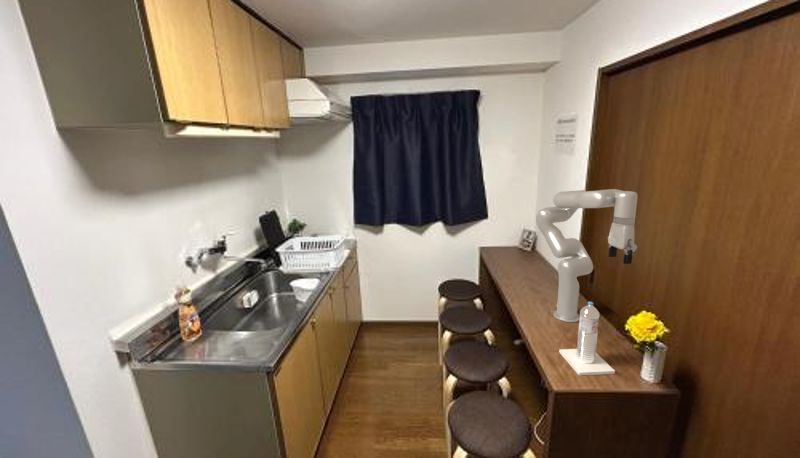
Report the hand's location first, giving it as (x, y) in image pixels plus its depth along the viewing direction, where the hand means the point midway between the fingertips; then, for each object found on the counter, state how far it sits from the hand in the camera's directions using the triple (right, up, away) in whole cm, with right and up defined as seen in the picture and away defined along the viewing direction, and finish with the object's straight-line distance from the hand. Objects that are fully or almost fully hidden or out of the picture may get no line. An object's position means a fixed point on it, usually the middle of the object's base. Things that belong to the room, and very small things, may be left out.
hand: (619, 260), depth 146 cm
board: (-18, -41, -7) cm, 46 cm away
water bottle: (-18, -40, -7) cm, 45 cm away
